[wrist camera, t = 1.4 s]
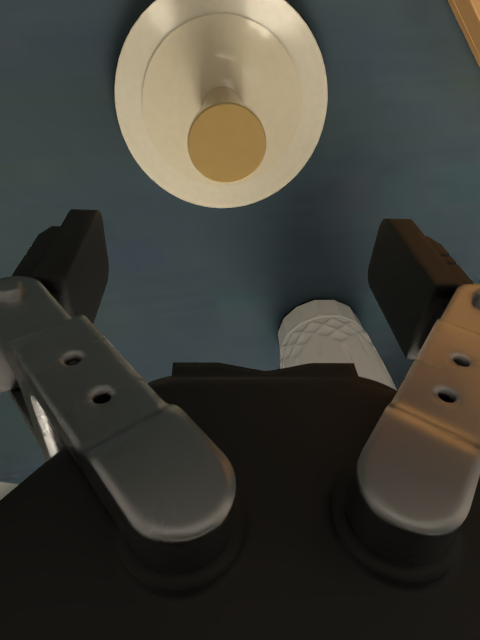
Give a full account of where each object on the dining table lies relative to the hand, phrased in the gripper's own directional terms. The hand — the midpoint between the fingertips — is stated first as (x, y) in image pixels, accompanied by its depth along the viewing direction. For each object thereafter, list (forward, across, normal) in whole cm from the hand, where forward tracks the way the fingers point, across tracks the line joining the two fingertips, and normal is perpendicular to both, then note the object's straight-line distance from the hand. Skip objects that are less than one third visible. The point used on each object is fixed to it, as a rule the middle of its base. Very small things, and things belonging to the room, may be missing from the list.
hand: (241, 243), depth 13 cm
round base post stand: (+17, 0, 0) cm, 17 cm away
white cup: (+17, -8, +17) cm, 25 cm away
